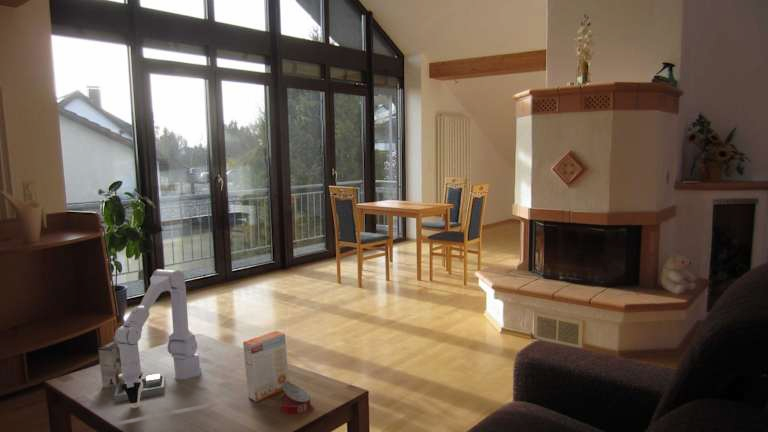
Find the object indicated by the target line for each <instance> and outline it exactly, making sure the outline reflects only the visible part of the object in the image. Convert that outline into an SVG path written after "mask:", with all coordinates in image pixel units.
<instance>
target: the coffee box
mask: <svg viewBox="0 0 768 432" xmlns="http://www.w3.org/2000/svg"><path fill="white" fill-rule="evenodd" d="M97 351H98V358H99V359H98V361H99V369H100V374H101V375H100V376H101V383H102V387H103V388H114V389H116V388H117V385H118V383H119V382H125V380H124V379H123V378H119V374H122V366H121V358H120V350H119V347H118V344H117V343H116V342H115V341H114V340H112V341H110V342H108V343H106V344H105V345H102V346H101V347H99V348H98V349H97Z"/></svg>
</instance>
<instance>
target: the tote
mask: <svg viewBox="0 0 768 432" xmlns="http://www.w3.org/2000/svg"><path fill="white" fill-rule="evenodd" d="M160 377H161V386H160V387H154V388H149V389H147V385H146V378H147V377H143V378H142V377H141V381H142V382H143V389H142V392H141V394H140V399H142V398H147V397H152V396H156V395H157V396H158V395H164V394H165V391H166V390H165V389H166V374H160ZM125 382H126V381H125ZM125 382H119V383H118V385H117V388H115V392H114V396H113V398H114V403H119V402H125V401H129V399H128V396H127V395H126V394H125V392H124V390H123V389H122V384H125Z"/></svg>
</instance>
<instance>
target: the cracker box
mask: <svg viewBox="0 0 768 432" xmlns="http://www.w3.org/2000/svg"><path fill="white" fill-rule="evenodd" d="M242 343H243V344H242V345H243V346H242V347H243V355H244V367H245V377H246V378H245V379H246V384H247V385H246V388H247V397H248V398H249V399H250V400H251V401H252V400H253V401H254V402H255V403H258V402H260V401H263V400H264V399H267V398H270V397H271V396H274V395H277V394H279V393H281V392H284V390H283V382H285V381H288V382H290V381H289V380H290V379H289V369H288V368H289V366H288V357H287V355H288V354H287V343H286V334H285V333H284V332H281V331H278V330H275V331H272V332H269V333H266V334H263V335H259V336H257V337H254V338H251V339H248V340H245V341H243V342H242Z"/></svg>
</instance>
